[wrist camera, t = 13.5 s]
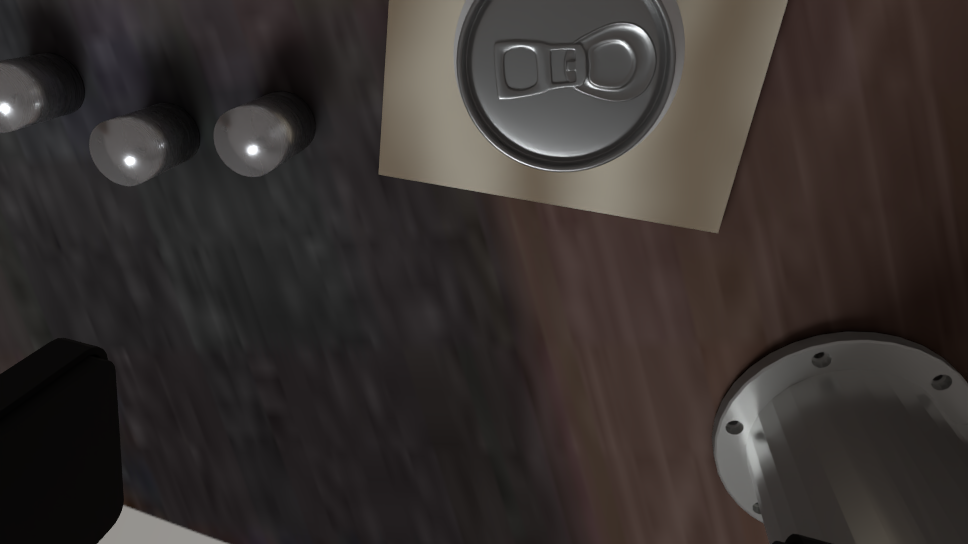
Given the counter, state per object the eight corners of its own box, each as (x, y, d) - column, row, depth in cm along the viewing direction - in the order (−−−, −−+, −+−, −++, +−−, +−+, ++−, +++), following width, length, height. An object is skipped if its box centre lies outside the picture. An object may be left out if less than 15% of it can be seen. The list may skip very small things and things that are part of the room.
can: (657, 98, 29) (690, 183, 18) (507, 108, 30) (454, 192, 19) (659, -71, 26) (699, -90, 16) (494, -53, 27) (425, -59, 17)
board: (835, -178, 25) (842, -183, 24) (715, 226, 32) (717, 233, 31) (408, -229, 26) (402, -235, 25) (383, 169, 33) (378, 174, 32)
